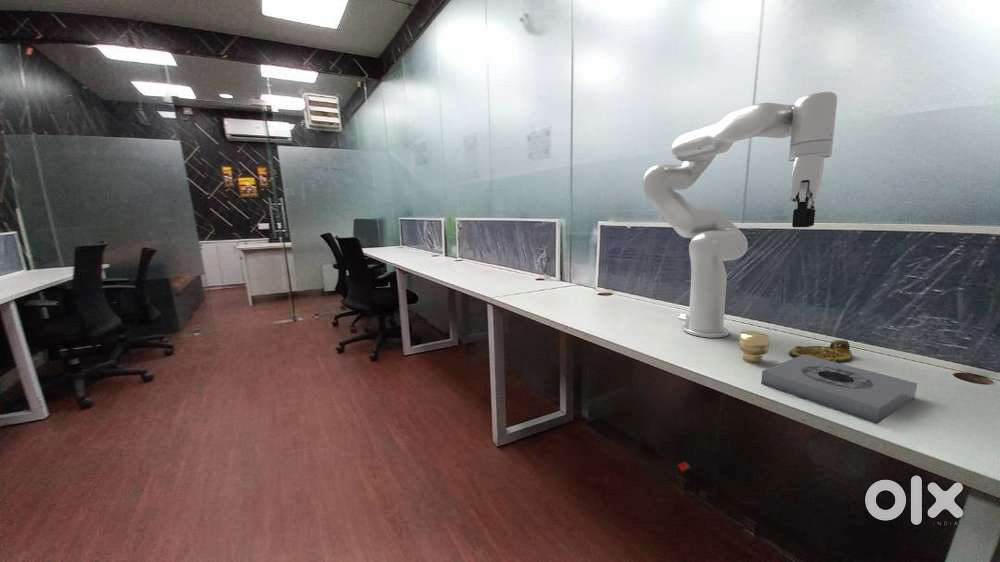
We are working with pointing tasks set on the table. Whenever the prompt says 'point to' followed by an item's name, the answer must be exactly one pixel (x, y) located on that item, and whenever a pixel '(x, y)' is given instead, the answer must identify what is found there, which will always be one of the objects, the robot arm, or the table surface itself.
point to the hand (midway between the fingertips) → (803, 226)
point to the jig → (841, 387)
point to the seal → (826, 351)
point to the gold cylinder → (753, 346)
